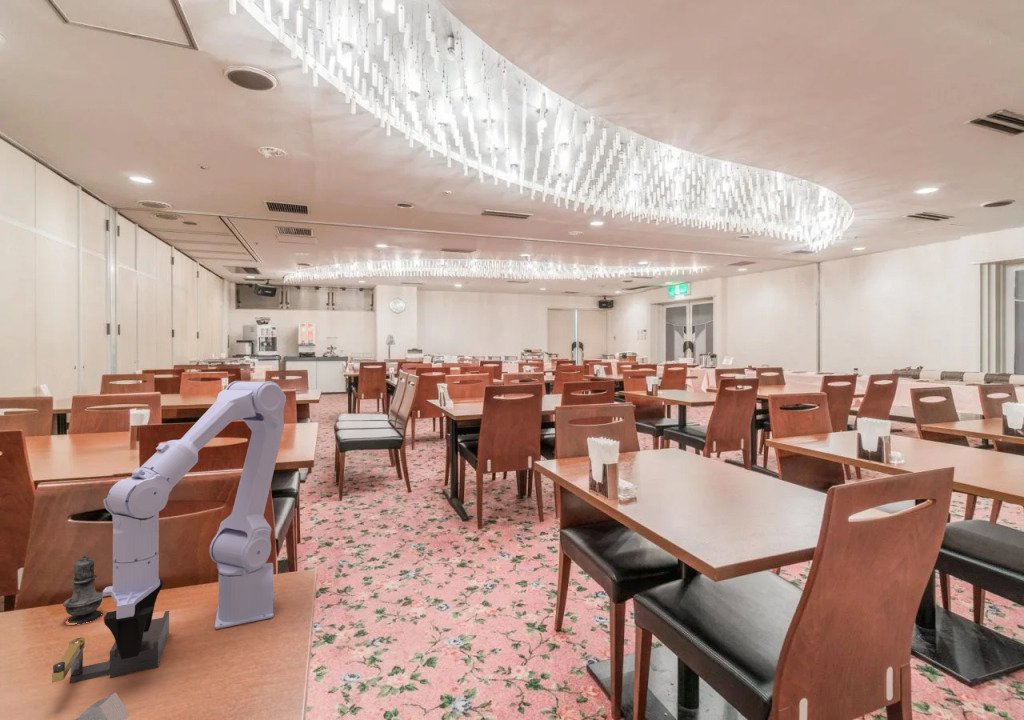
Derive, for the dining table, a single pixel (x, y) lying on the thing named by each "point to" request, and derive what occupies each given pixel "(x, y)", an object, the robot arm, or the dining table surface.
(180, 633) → the dining table surface
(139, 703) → the dining table surface
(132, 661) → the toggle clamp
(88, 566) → the grey tall flared piece
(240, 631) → the dining table surface
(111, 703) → the knobbed drawer block
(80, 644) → the lever
